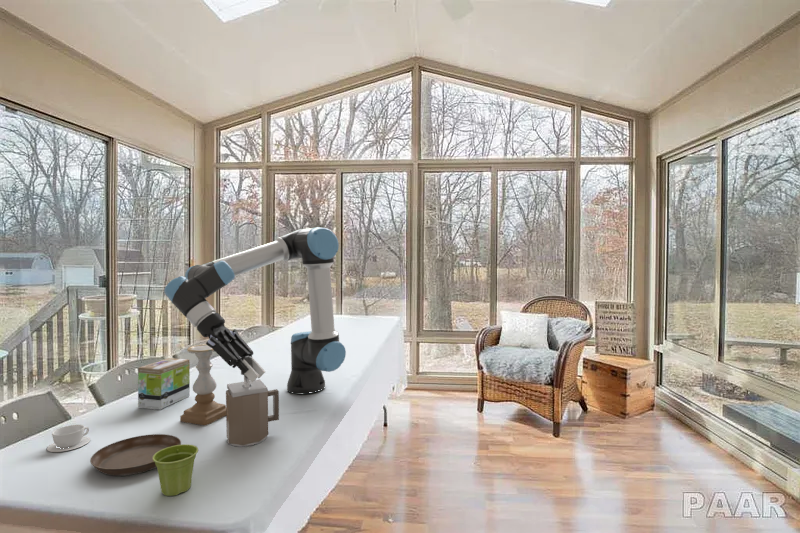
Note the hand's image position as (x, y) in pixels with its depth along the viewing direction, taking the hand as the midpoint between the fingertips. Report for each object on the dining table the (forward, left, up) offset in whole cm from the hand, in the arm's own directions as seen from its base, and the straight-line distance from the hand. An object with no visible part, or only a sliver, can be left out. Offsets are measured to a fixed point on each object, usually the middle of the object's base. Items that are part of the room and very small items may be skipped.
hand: (258, 376), depth 127 cm
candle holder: (+12, -26, -19) cm, 35 cm away
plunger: (+3, -2, -16) cm, 16 cm away
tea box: (+23, -50, -19) cm, 59 cm away
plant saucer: (+31, -3, -19) cm, 37 cm away
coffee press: (+1, -2, -19) cm, 19 cm away
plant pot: (+23, +18, -19) cm, 35 cm away
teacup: (+48, -24, -19) cm, 57 cm away
